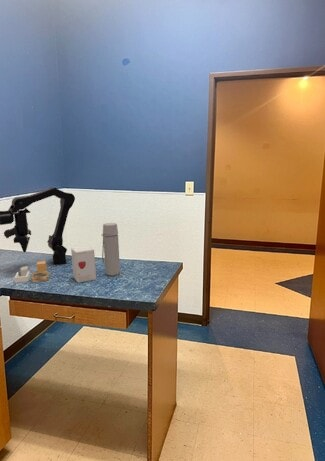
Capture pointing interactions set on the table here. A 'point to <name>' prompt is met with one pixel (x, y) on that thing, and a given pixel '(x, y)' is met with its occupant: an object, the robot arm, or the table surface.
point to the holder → (40, 277)
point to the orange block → (41, 266)
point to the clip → (22, 277)
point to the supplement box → (83, 263)
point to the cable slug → (24, 270)
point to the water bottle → (111, 249)
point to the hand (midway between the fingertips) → (24, 252)
